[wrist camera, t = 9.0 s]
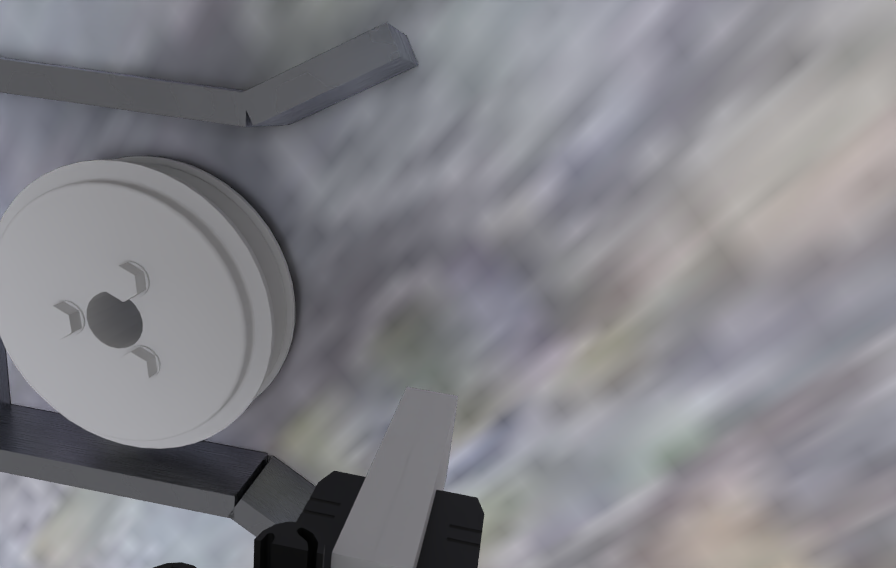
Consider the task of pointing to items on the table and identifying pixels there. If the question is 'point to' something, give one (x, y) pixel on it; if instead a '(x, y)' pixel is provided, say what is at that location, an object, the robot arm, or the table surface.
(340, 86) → the steel bracket
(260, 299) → the grey pulley wheel
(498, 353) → the table surface
